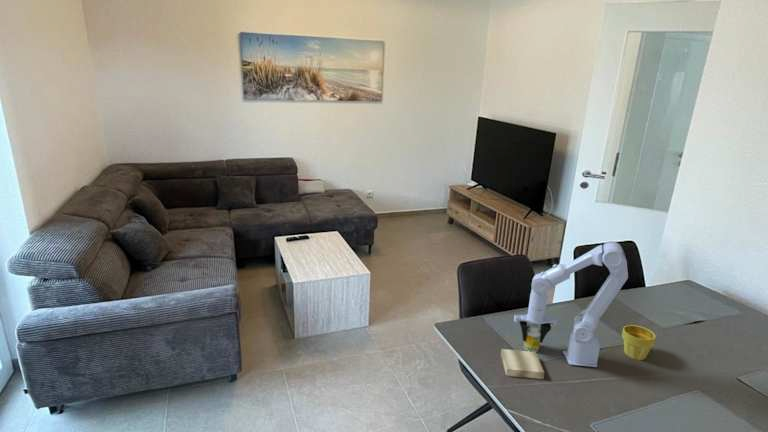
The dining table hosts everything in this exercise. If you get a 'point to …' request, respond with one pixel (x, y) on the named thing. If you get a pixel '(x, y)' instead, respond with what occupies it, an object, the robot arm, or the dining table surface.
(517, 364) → the oak riser
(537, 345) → the supplement bottle
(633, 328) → the plant pot
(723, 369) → the dining table surface
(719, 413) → the dining table surface
